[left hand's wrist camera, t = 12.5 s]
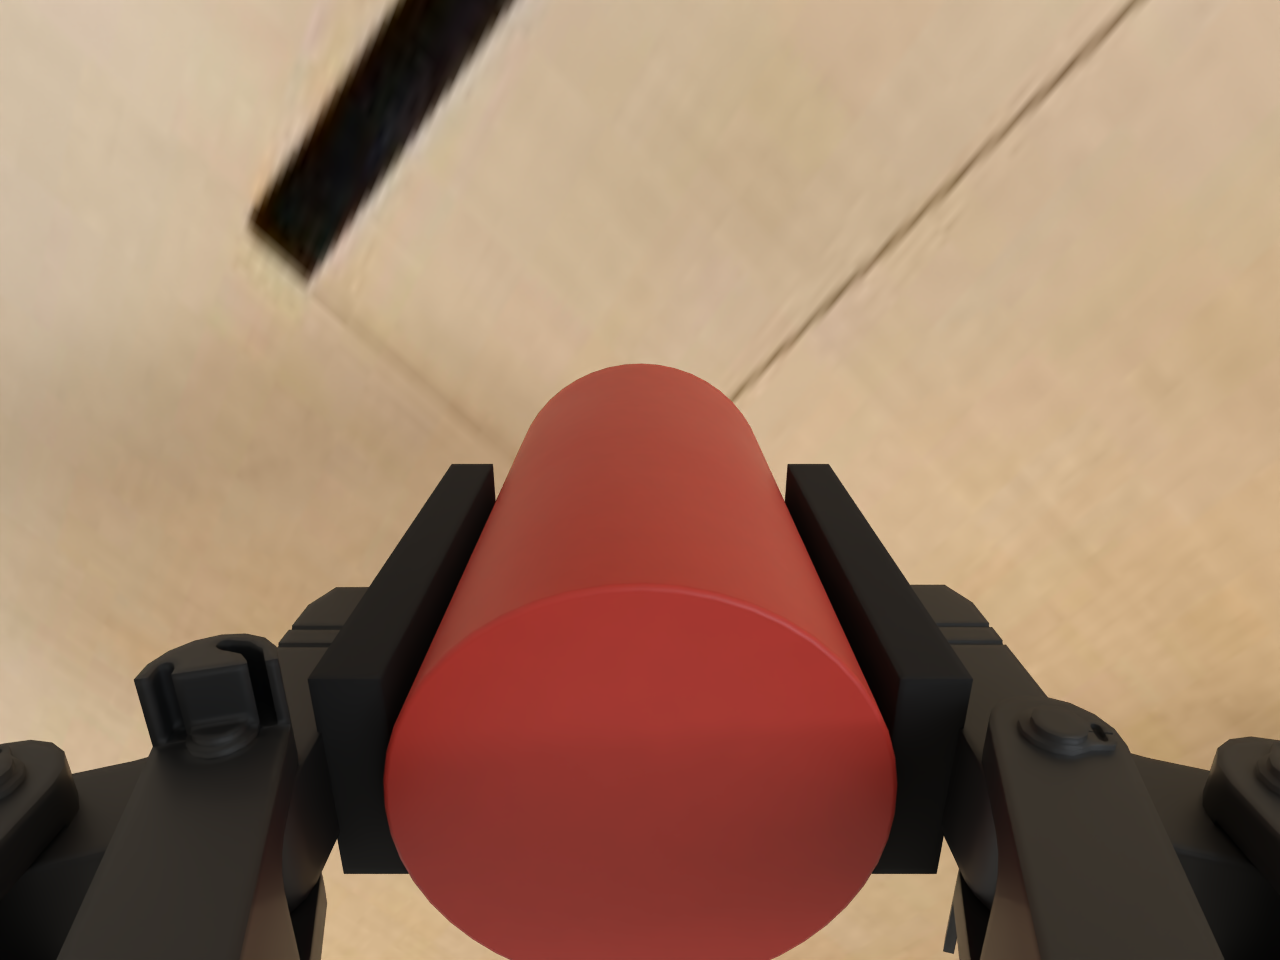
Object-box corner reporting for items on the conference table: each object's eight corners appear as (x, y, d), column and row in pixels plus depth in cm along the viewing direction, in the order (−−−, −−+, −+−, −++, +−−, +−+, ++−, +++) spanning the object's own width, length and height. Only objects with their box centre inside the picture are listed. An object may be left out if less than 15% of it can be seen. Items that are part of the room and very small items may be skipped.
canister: (475, 523, 17) (302, 879, 8) (593, 313, 15) (532, 485, 7) (679, 629, 18) (717, 1047, 9) (811, 443, 16) (1009, 740, 8)
